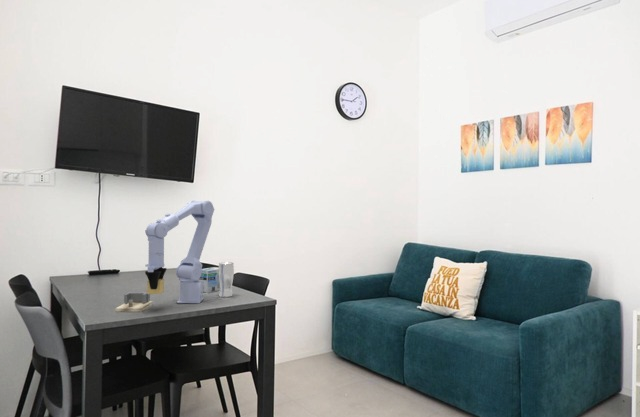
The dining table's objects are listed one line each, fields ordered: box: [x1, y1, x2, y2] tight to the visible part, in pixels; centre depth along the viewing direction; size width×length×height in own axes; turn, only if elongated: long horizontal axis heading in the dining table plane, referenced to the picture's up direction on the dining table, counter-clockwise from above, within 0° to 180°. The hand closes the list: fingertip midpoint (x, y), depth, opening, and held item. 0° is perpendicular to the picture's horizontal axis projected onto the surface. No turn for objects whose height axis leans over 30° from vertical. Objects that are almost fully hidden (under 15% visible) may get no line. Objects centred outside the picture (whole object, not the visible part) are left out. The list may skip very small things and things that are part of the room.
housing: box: [123, 291, 151, 304], centre depth 178 cm, size 9×5×4 cm, turn 94°
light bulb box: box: [199, 266, 220, 294], centre depth 213 cm, size 11×7×11 cm, turn 147°
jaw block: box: [146, 278, 165, 295], centre depth 173 cm, size 5×5×5 cm
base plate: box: [114, 300, 154, 313], centre depth 175 cm, size 10×13×4 cm
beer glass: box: [217, 261, 235, 298], centre depth 200 cm, size 7×7×15 cm
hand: (156, 287), depth 173 cm, fingers closed on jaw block, 5 cm apart
